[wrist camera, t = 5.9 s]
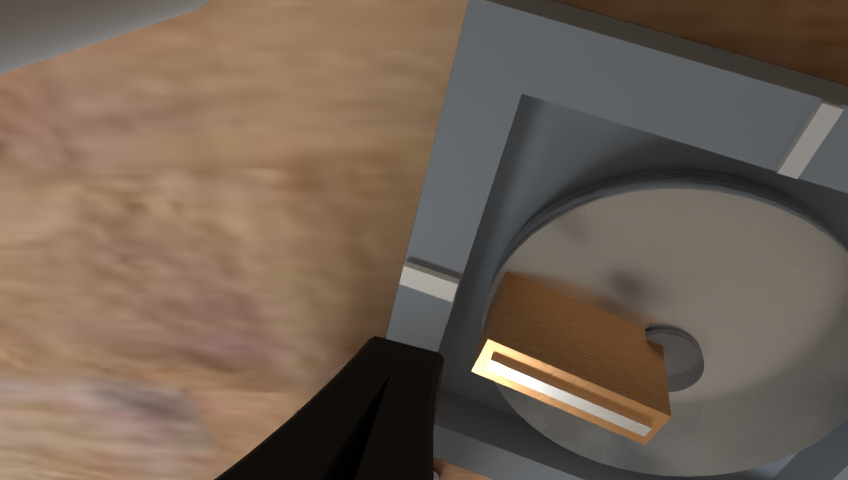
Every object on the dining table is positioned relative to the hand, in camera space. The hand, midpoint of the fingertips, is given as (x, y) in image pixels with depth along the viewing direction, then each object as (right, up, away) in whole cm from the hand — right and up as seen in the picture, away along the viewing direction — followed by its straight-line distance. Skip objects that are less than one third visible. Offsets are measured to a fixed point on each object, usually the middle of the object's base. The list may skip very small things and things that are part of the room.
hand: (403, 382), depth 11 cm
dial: (+9, 0, +10) cm, 13 cm away
